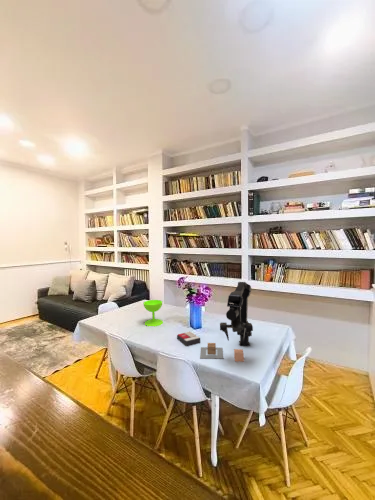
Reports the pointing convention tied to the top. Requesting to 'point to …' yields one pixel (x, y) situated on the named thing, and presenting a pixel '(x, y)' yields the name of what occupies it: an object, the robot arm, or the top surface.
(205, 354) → the build plate
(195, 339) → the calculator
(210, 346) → the base block
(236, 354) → the top block
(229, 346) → the top surface
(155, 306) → the wineglass
